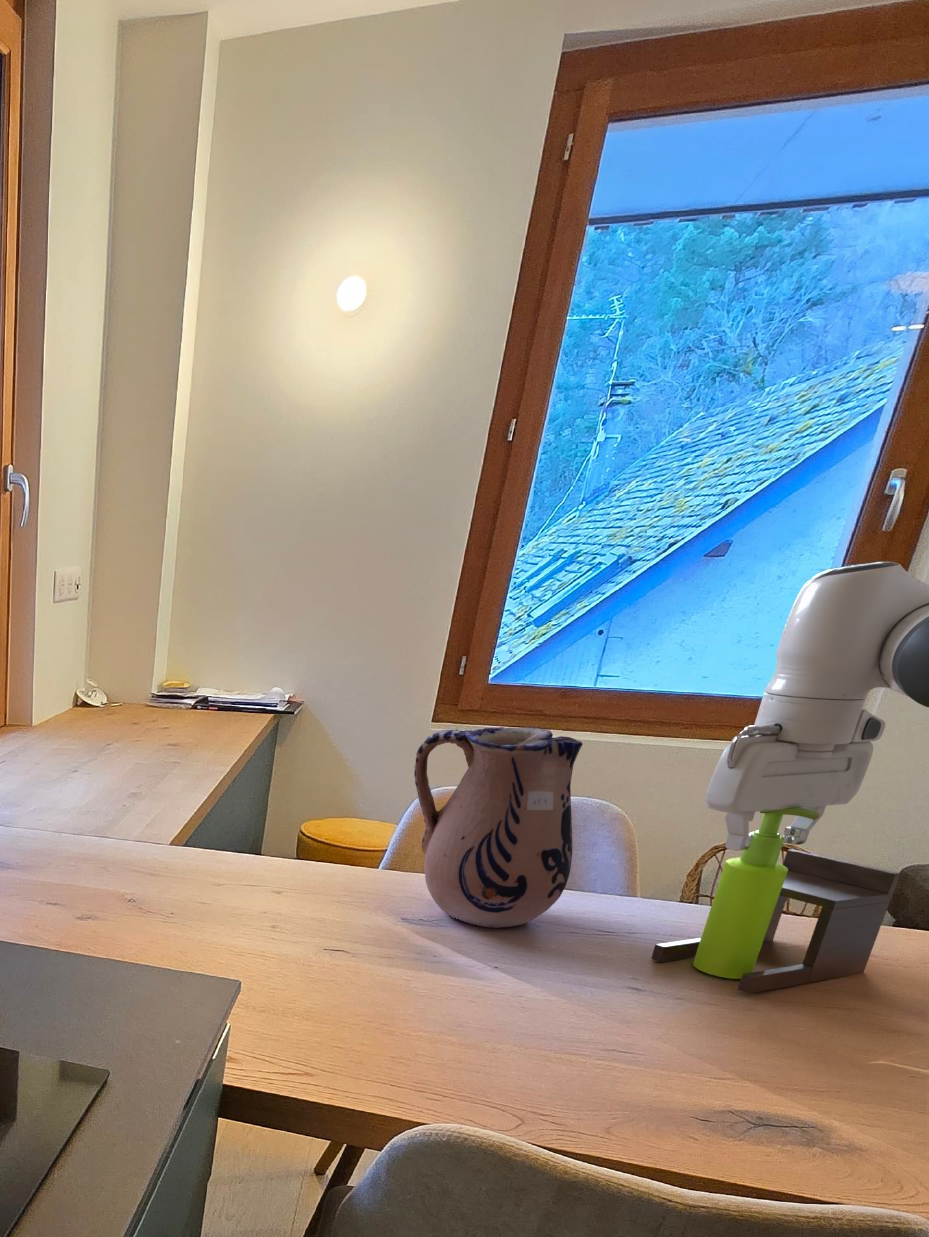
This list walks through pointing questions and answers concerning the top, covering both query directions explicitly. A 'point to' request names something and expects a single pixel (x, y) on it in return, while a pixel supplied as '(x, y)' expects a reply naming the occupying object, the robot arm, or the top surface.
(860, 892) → the stand
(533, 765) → the ceramic pitcher
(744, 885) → the soap dispenser
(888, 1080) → the top surface
